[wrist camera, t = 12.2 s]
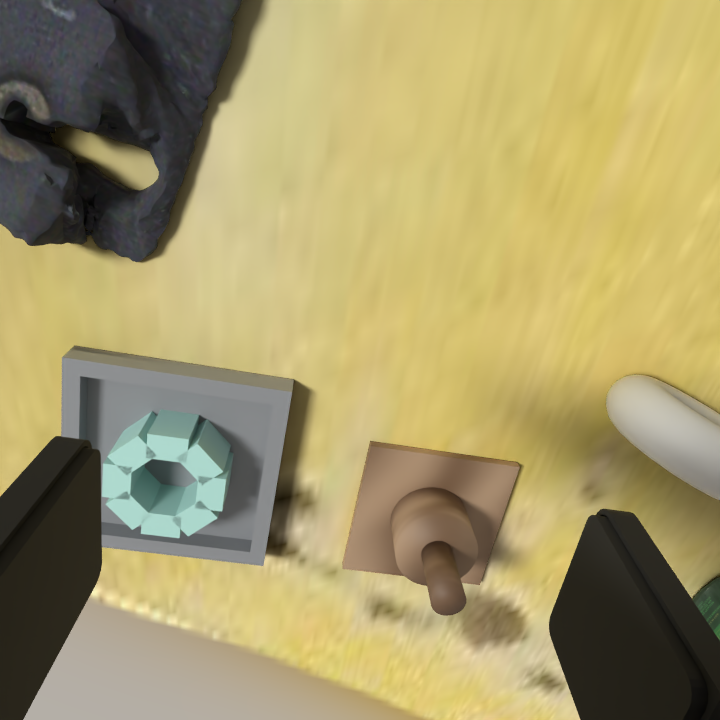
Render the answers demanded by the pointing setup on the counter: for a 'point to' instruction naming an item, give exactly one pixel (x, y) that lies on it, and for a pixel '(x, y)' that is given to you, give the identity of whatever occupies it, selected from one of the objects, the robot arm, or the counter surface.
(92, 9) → the dark slate chunk
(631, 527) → the robot arm
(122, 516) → the ring
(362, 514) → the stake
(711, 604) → the coffee jar
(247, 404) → the tray
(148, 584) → the counter surface
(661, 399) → the donut
